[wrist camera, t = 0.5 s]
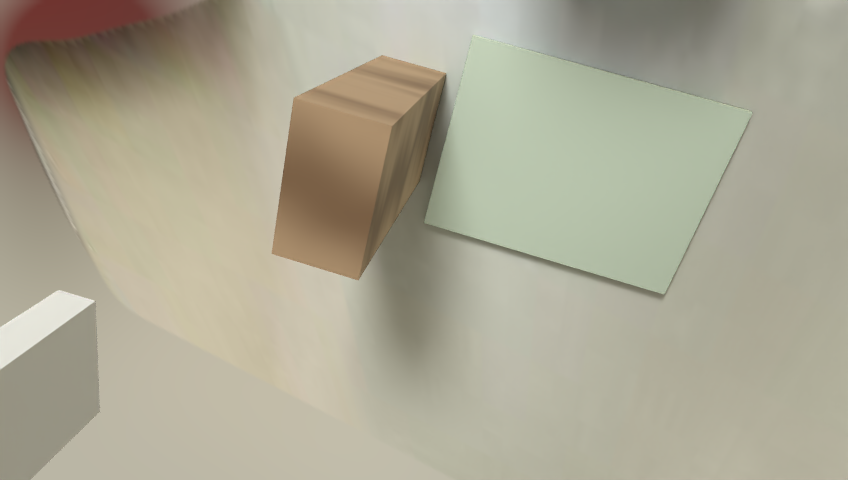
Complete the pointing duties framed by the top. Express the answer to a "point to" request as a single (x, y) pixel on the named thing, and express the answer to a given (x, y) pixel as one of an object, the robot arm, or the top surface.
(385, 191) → the walnut block
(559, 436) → the top surface
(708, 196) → the mat
